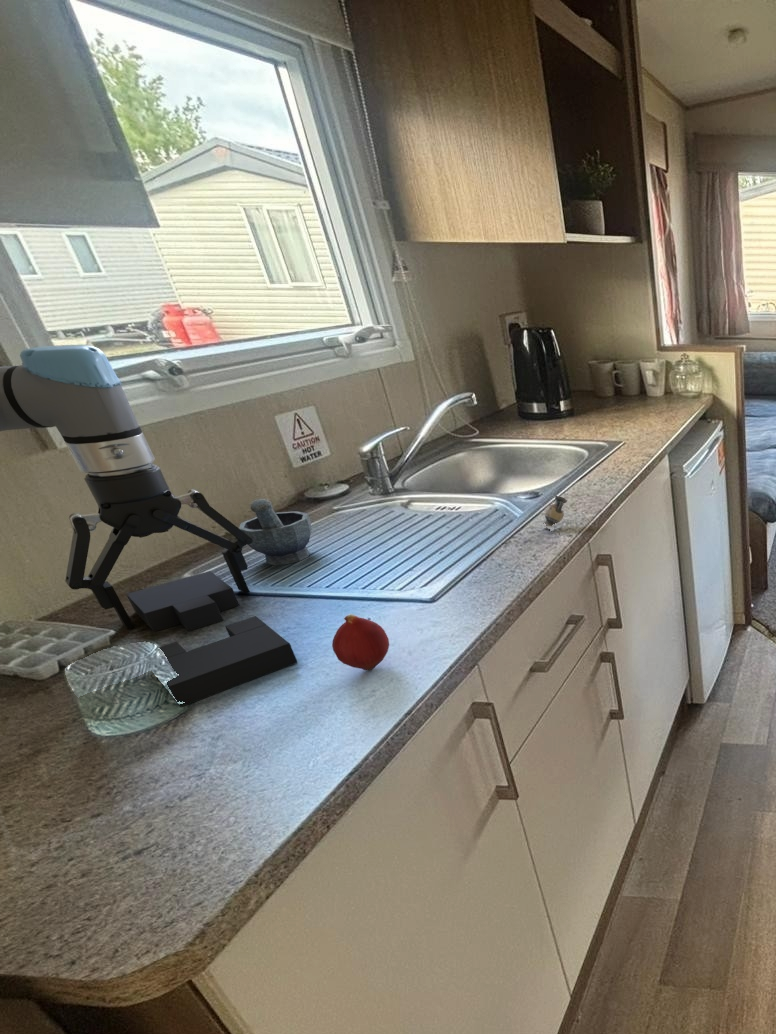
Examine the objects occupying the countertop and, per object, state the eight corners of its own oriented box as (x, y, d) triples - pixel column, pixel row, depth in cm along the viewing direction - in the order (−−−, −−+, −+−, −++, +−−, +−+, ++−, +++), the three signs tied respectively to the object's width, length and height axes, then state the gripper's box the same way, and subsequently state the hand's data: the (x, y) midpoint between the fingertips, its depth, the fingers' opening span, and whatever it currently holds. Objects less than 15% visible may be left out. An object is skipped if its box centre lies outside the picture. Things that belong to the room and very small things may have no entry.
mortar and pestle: (259, 553, 116) (232, 488, 111) (321, 543, 121) (299, 480, 115) (250, 577, 108) (220, 507, 102) (318, 565, 112) (293, 498, 106)
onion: (362, 656, 86) (343, 602, 83) (405, 657, 86) (388, 603, 83) (333, 681, 81) (311, 625, 78) (378, 682, 81) (358, 626, 78)
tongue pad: (135, 611, 97) (125, 593, 96) (218, 587, 104) (210, 570, 103) (161, 640, 90) (151, 621, 89) (248, 612, 97) (240, 594, 96)
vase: (565, 520, 132) (560, 491, 129) (577, 527, 128) (572, 498, 126) (539, 526, 129) (533, 497, 126) (550, 534, 125) (545, 504, 122)
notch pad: (152, 672, 83) (141, 652, 81) (263, 634, 91) (255, 615, 90) (180, 707, 76) (169, 686, 75) (297, 662, 85) (289, 643, 84)
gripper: (-13, 498, 77) (79, 650, 87) (241, 453, 95) (294, 583, 105) (-22, 486, 81) (67, 633, 91) (224, 445, 99) (277, 572, 109)
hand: (189, 607), depth 98 cm, fingers open, 13 cm apart
